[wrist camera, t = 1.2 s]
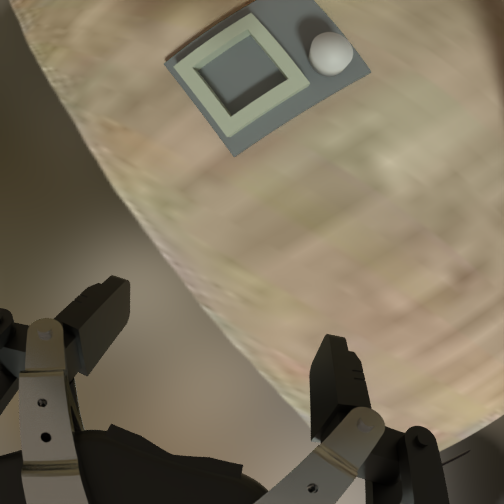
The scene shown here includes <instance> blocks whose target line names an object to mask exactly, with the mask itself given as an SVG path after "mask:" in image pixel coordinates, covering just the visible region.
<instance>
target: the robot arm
mask: <svg viewBox="0 0 504 504" xmlns="http://www.w3.org/2000/svg"><path fill="white" fill-rule="evenodd" d="M129 314H130V282H129V281H128V280H125V279H122V278H119V277H116V276H113V275H112V276H110V277H109V278H108V279H107V280H106V281H105V282H103V283H102V284H100V283H97V284H95V285H92V286H90V287H88V288H87V289H85V290H84V291H83V292H82V293H81V294H80V296H78V297H77V298H76V299H75V300H74V301H72V302H71V303H70V304H69V305H68V306H67V307H66V308H65V309H64V310H63V311H61V312H60V313H59V314H58V315H57V316H56V317H55V318H54V319H51V318H43V319H39V320H36V321H35V322H33V323H32V324H31V325H30V326H28V325H23V324H19V323H14V320H13V316H12V314H11V312H10V311H8V310H6V309H2V308H0V415H1V414H2V412H3V410H4V409H5V408H6V406H7V405H8V403H9V402H10V401H11V399H12V398H13V396H14V395H15V394H16V392H17V391H18V389H19V418H20V419H19V420H20V435H21V446H22V450H20V451H17V452H13V453H9V454H6V455H2V456H0V504H335V503H336V501H338V499H339V498H340V497H341V496H342V494H343V493H344V492H345V491H346V490H347V488H348V487H349V486H350V485H351V483H352V482H353V481H354V479H355V478H356V477H359V478H362V479H365V490H366V504H449V498H448V493H447V487H446V483H445V477H444V472H443V467H442V463H441V458H440V454H439V450H438V446H437V442H436V439H435V437H434V435H433V434H432V433H431V432H430V431H429V430H428V429H426V428H424V427H421V426H413V427H411V428H409V429H408V430H407V431H406V432H405V433H403V432H400V431H397V430H394V429H391V428H388V427H386V426H385V423H384V420H383V418H382V417H381V416H380V415H379V414H378V413H377V412H376V411H374V410H373V409H371V404H370V399H369V395H368V390H367V386H366V381H365V377H364V373H363V368H362V364H361V361H360V360H359V358H358V357H357V355H356V354H355V353H354V352H351V351H348V347H347V342H346V339H345V338H344V337H339V336H335V335H330V334H326V335H325V337H324V339H323V341H322V343H321V345H320V347H319V349H318V352H317V354H316V356H315V358H314V360H313V362H312V365H311V369H310V375H309V378H310V411H311V441H313V442H321V444H320V445H318V446H317V447H316V448H315V449H314V450H313V451H312V452H311V453H310V454H309V455H308V456H307V457H306V458H305V459H304V460H303V461H302V462H301V463H300V464H299V465H298V466H297V467H296V468H294V469H293V470H292V471H291V472H290V473H289V474H288V475H287V476H286V477H285V478H283V479H282V480H281V481H280V482H279V483H278V484H277V485H276V486H274V487H273V488H272V489H271V490H270V491H268V490H267V489H266V488H265V487H264V486H262V485H261V484H260V483H258V482H257V481H256V480H254V479H252V478H251V477H249V476H247V475H245V474H242V467H243V465H241V464H236V463H230V462H226V461H222V460H218V459H214V458H210V457H192V456H180V455H172V454H170V453H168V452H166V451H164V450H163V449H161V448H159V447H158V446H156V445H155V444H153V443H151V442H150V441H148V440H147V439H145V438H143V437H142V436H140V435H137V434H135V433H132V432H130V431H127V430H125V429H122V428H120V427H117V426H115V425H113V424H111V425H110V427H109V429H108V430H107V431H102V430H84V426H83V423H82V419H81V415H80V410H79V403H78V398H77V391H76V385H75V379H74V377H75V375H76V374H77V373H78V372H79V373H81V374H83V375H86V376H88V375H89V374H90V372H91V371H92V369H93V368H94V367H95V366H96V364H97V363H98V361H99V360H100V359H101V357H102V356H103V355H104V353H105V352H106V351H107V349H108V348H109V346H110V345H111V344H112V343H113V341H114V340H115V338H116V337H117V336H118V335H119V333H120V332H121V331H122V329H123V328H124V327H125V325H126V324H127V321H128V319H129Z"/></svg>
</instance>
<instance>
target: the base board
mask: <svg viewBox="0 0 504 504" xmlns="http://www.w3.org/2000/svg"><path fill="white" fill-rule="evenodd" d="M164 65H165V66H166V68H167V69H168V70H169V72H170V73H171V74H172V75H173V77H174V78H175V79H176V80H177V82H178V83H179V84H180V86H181V87H182V88H183V89H184V91H185V92H186V93H187V95H188V96H189V97H190V99H191V100H192V101H193V103H194V104H195V105H196V106H197V108H198V109H199V110H200V112H201V113H202V114H203V116H204V117H205V118H206V120H207V121H208V122H209V124H210V125H211V126H212V128H213V129H214V130H215V132H216V133H217V135H218V136H219V137H220V139H221V140H222V141H223V143H224V144H225V145H226V147H227V148H228V150H229V151H230V152H231V154H232V155H233V156H234V157H236V156H237V155H239V154H240V153H241V152H243V151H244V150H246V149H247V148H249V147H250V146H252V145H253V144H254V143H256V142H257V141H259V140H260V139H262V138H263V137H265V136H266V135H268V134H269V133H271V132H272V131H274V130H276V129H277V128H279V127H280V126H282V125H283V124H285V123H286V122H288V121H289V120H291V119H293V118H294V117H296V116H297V115H299V114H301V113H302V112H304V111H305V110H307V109H309V108H310V107H312V106H314V105H315V104H317V103H319V102H320V101H322V100H324V99H325V98H327V97H329V96H331V95H332V94H334V93H336V92H337V91H339V90H341V89H343V88H344V87H346V86H348V85H350V84H352V83H353V82H355V81H357V80H359V79H361V78H363V77H364V76H366V75H368V74H370V73H371V71H370V69H369V68H368V66H367V65H366V63H365V62H364V61H363V59H362V58H361V57H360V55H359V54H358V53H357V51H356V50H355V49H354V47H353V46H352V45H351V43H350V42H349V41H348V40H347V38H346V37H345V36H344V35H343V33H342V32H341V31H340V30H339V28H338V27H337V26H336V25H335V24H334V22H333V21H332V20H331V19H330V18H329V17H328V16H327V14H326V13H325V12H324V11H323V10H322V9H321V8H320V7H319V6H318V4H317V3H316V2H315V1H314V0H256V1H254V2H252V3H251V4H249V5H247V6H246V7H244V8H242V9H240V10H239V11H237V12H236V13H234V14H232V15H231V16H229V17H228V18H226V19H224V20H223V21H221V22H220V23H218V24H217V25H215V26H214V27H212V28H211V29H209V30H208V31H206V32H205V33H204V34H202V35H201V36H199V37H198V38H197V39H195V40H194V41H192V42H191V43H190V44H188V45H187V46H186V47H184V48H183V49H182V50H181V51H179V52H178V53H177V54H175V55H174V56H173V57H172V58H170V59H169V60H168V61H167V62H165V63H164Z"/></svg>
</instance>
